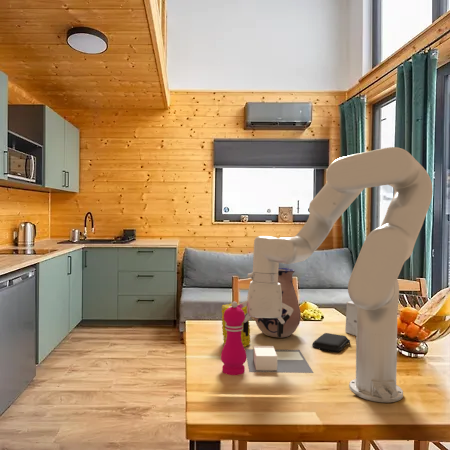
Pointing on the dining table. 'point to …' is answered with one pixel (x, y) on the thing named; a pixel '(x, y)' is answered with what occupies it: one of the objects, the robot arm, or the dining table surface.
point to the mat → (283, 362)
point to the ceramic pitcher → (288, 298)
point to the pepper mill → (233, 342)
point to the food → (244, 338)
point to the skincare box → (351, 318)
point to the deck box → (265, 358)
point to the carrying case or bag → (331, 342)
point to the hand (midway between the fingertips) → (262, 335)
